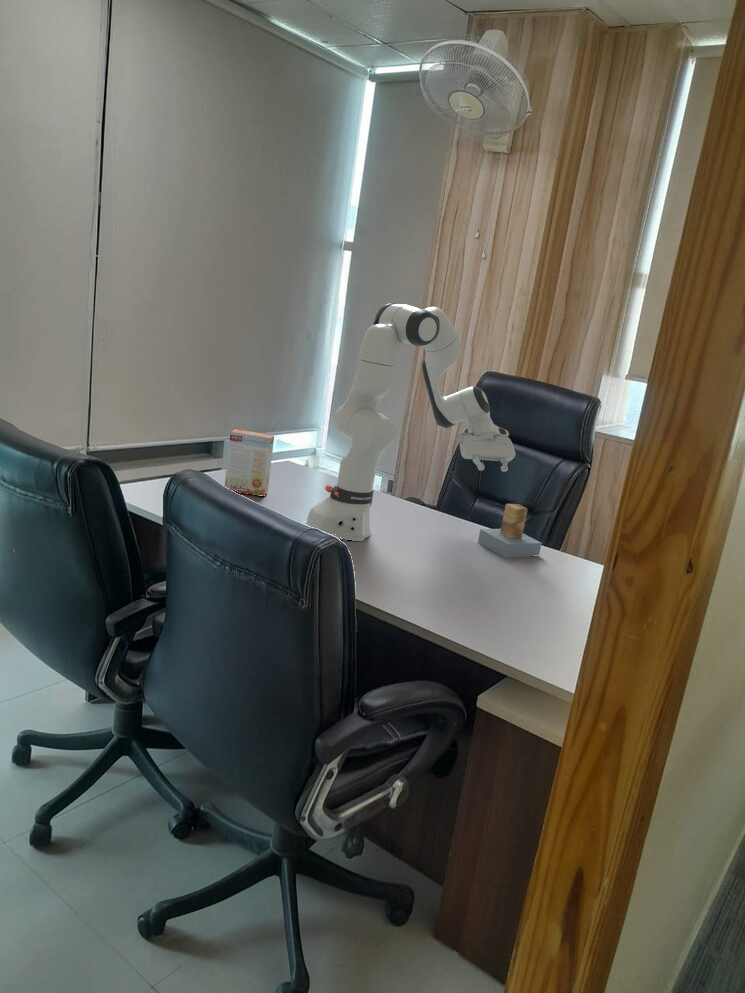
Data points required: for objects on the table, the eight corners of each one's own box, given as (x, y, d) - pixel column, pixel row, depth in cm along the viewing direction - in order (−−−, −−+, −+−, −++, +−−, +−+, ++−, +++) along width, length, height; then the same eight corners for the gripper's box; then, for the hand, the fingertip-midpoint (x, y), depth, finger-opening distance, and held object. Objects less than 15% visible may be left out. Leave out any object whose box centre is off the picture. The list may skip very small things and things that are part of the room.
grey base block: (504, 559, 244) (508, 544, 243) (477, 543, 256) (480, 529, 254) (538, 557, 252) (541, 543, 250) (510, 542, 263) (513, 528, 262)
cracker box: (267, 494, 272) (275, 435, 267) (263, 498, 266) (271, 438, 261) (228, 486, 273) (235, 428, 267) (223, 491, 267) (230, 430, 262)
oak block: (508, 538, 249) (514, 508, 247) (499, 533, 253) (505, 503, 251) (521, 538, 251) (527, 508, 249) (512, 533, 256) (518, 504, 253)
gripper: (462, 427, 257) (472, 463, 251) (511, 431, 266) (523, 466, 261) (452, 437, 262) (462, 473, 256) (501, 441, 271) (512, 476, 265)
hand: (493, 470), depth 258 cm, fingers open, 8 cm apart
